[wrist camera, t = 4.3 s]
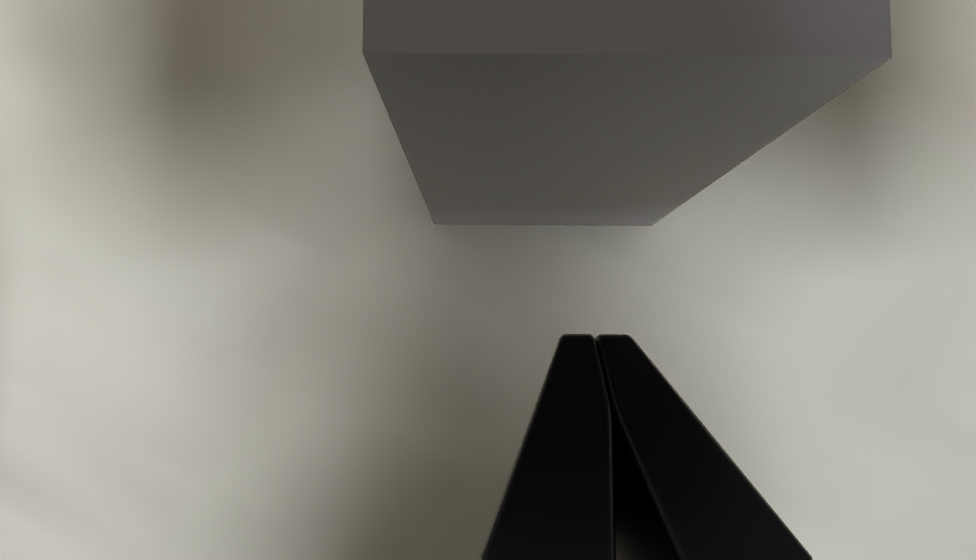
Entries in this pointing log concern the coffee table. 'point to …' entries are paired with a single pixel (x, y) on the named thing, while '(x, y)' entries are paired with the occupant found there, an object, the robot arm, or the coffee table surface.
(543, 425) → the robot arm
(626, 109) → the domino
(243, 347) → the coffee table surface
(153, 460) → the coffee table surface
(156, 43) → the coffee table surface
